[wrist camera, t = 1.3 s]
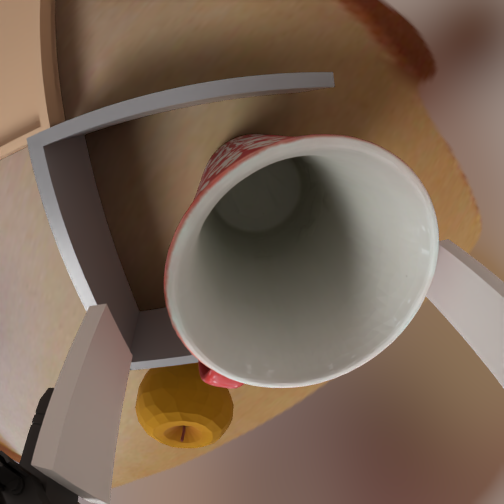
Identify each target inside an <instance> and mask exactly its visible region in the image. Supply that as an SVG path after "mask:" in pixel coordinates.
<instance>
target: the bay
mask: <svg viewBox="0 0 504 504" xmlns="http://www.w3.org/2000/svg"><path fill="white" fill-rule="evenodd" d="M332 87H335V85H334V77H333V72H302V73H281V74H268V75H256V76H247V77H238V78H231V79H223V80H217V81H210V82H204V83H199V84H193V85H188V86H183V87H178V88H173V89H169V90H164V91H160V92H156V93H152V94H148V95H144V96H140V97H137V98H133V99H130V100H126V101H123V102H119V103H116V104H113V105H110V106H106V107H103V108H100V109H97V110H95V111H92V112H89V113H86V114H83V115H81V116H78V117H75V118H73V119H70V120H67V121H65V122H62V123H60V124H58V125H55V126H53V127H50V128H48V129H46V130H44V131H41V132H39V133H37V134H35V135H33V136H30V137H28V138H26V139H27V144H28V149H29V154H30V158H31V162H32V166H33V170H34V174H35V178H36V182H37V186H38V189H39V193H40V196H41V199H42V203H43V206H44V209H45V212H46V215H47V218H48V221H49V224H50V227H51V230H52V233H53V235H54V238H55V241H56V243H57V246H58V249H59V251H60V254H61V256H62V259H63V261H64V264H65V266H66V268H67V271H68V273H69V275H70V278H71V280H72V282H73V284H74V286H75V289H76V291H77V293H78V295H79V297H80V299H81V301H82V303H83V305H84V307H85V309H86V311H88V308H89V306H94V305H101V304H107V306H108V308H109V310H110V312H111V314H112V316H113V318H114V321H115V323H116V325H117V327H118V329H119V331H120V333H121V335H122V337H123V338H124V340H125V342H126V344H127V346H128V348H129V350H130V352H131V354H132V355H133V356H132V361H131V366H130V370H137V369H148V368H157V367H166V366H174V365H182V364H190V363H197V362H198V359H197V358H196V357H195V356H193V355H192V354H191V352H190V351H189V350H188V349H187V348H186V347H185V346H184V344H183V343H182V341H181V339H180V338H179V337H178V336H177V334H176V331H175V330H174V328H173V326H172V323H171V320H170V317H169V314H168V311H167V307H166V308H159V309H153V310H147V311H139V309H138V306H137V304H136V302H135V299H134V297H133V294H132V292H131V289H130V287H129V284H128V281H127V279H126V276H125V273H124V271H123V268H122V265H121V263H120V260H119V257H118V254H117V251H116V248H115V245H114V242H113V239H112V236H111V233H110V230H109V227H108V224H107V221H106V217H105V214H104V211H103V207H102V204H101V200H100V197H99V193H98V190H97V186H96V182H95V178H94V174H93V170H92V166H91V162H90V158H89V153H88V149H87V144H86V140H85V134H88V133H91V132H94V131H97V130H100V129H103V128H106V127H110V126H113V125H116V124H119V123H123V122H126V121H130V120H134V119H137V118H141V117H145V116H149V115H153V114H157V113H161V112H166V111H170V110H175V109H179V108H184V107H189V106H194V105H200V104H205V103H211V102H217V101H223V100H230V99H237V98H245V97H253V96H262V95H273V94H285V93H299V92H305V91H311V90H318V89H324V88H332Z"/></svg>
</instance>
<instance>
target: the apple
mask: <svg viewBox="0 0 504 504" xmlns="http://www.w3.org/2000/svg"><path fill="white" fill-rule="evenodd" d="M135 408H136V413H137V417H138V421H139V423H140V424H141V426H142V427H143V428H144V430H145V431H146V432H147V434H148V435H150V436H151V437H152V438H154V439H156V440H157V441H159V442H160V443H163V444H166V445H168V446H171V447H177V448H198V447H204V446H207V445H210V444H213V443H215V442H216V441H217V440H218V439H220V437H221V436H222V435H223V434H224V432H225V431H226V430H227V428H228V427H229V425H230V423H231V421H232V416H233V402H232V398H231V395H230V393H229V391H228V389H227V388H223V387H217V386H213V385H210V384H207V383H205V382H204V381H203V380H202V379H201V377H200V372H199V363H198V362H197V363H190V364H182V365H174V366H166V367H157V368H151V369H150V370H149V371H148V372H147V373H146V375H145V377H144V378H143V380H142V382H141V384H140V386H139V390H138V395H137V401H136V407H135Z"/></svg>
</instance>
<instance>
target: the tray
mask: <svg viewBox="0 0 504 504" xmlns="http://www.w3.org/2000/svg"><path fill="white" fill-rule="evenodd" d="M62 122H65V115H64V109H63V103H62V96H61V89H60V81H59V72H58V61H57V49H56V29H55V0H0V160H2V159H4V158H6V157H7V156H9V155H11V154H13V153H15V152H17V151H20V150H22V149H24V148H26V147H28V144H27V139H26V138H28V137H30V136H33V135H35V134H37V133H39V132H41V131H44V130H46V129H48V128H50V127H53V126H55V125H58V124H60V123H62Z"/></svg>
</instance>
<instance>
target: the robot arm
mask: <svg viewBox="0 0 504 504" xmlns="http://www.w3.org/2000/svg"><path fill="white" fill-rule="evenodd" d="M426 297H427V298H428V299H429V300H430V301H431V302H432V303H433V304H434V305H435V306H436V308H437V309H438V310H439V311H440V312H441V313H442V314H443V315H444V316H445V317H446V318H447V319H448V321H449V322H450V323H451V324H452V325H453V326H454V328H455V329H456V330H457V331H458V332H459V333H460V334H461V336H462V337H463V338H464V339H465V340H466V341H467V343H468V344H469V345H470V346H471V347H472V349H473V350H474V351H475V352H476V354H477V355H478V356H479V357H480V358H481V360H482V361H483V362H484V363H485V365H486V366H487V367H488V368H489V370H490V371H491V372H492V374H493V375H494V376H495V377H496V379H497V380H498V381H499V383H500V384H501V385H502V386H503V388H504V282H503V281H502V280H500V279H499V278H498V277H497V276H495V275H494V274H493V273H492V272H491V271H490V270H488V269H487V268H486V267H485V266H483V265H482V264H481V263H479V262H478V261H477V260H476V259H474V258H473V257H472V256H470V255H469V254H468V253H466V252H465V251H464V250H462V249H461V248H460V247H458V246H457V245H456V244H454V243H453V242H451V241H450V240H449V239H447V240H443V241H439V251H438V260H437V265H436V269H435V273H434V277H433V280H432V283H431V285H430V288H429V290H428V292H427V295H426ZM132 356H133V355H132V354H131V352H130V350H129V348H128V346H127V344H126V342H125V340H124V338H123V337H122V335H121V333H120V331H119V329H118V327H117V325H116V323H115V321H114V318H113V316H112V314H111V312H110V310H109V308H108V306H107V304H101V305H94V306H89V308H88V311H87V313H86V315H85V317H84V319H83V321H82V323H81V325H80V328H79V330H78V332H77V334H76V336H75V339H74V341H73V343H72V346H71V348H70V350H69V353H68V355H67V357H66V360H65V362H64V365H63V367H62V370H61V372H60V375H59V377H58V380H57V383H56V385H55V388H48V390H47V391H46V392H45V393H44V395H43V396H42V397H41V399H40V401H39V404H38V406H37V409H36V415H34V418H33V421H32V424H33V425H31V427H30V430H29V433H28V436H27V440H26V443H25V446H24V450H23V454H22V457H21V461H20V463H19V464H18V463H16V462H15V461H14V460H12V459H11V458H10V457H9V456H7V455H6V454H5V453H4V452H2V451H0V504H80V503H79V502H78V496H80V497H82V498H84V499H85V500H87V501H89V502H94V503H99V504H110V497H111V485H112V475H113V467H114V458H115V451H116V443H117V437H118V430H119V424H120V418H121V412H122V406H123V401H124V395H125V390H126V385H127V380H128V375H129V370H130V366H131V361H132Z"/></svg>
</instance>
